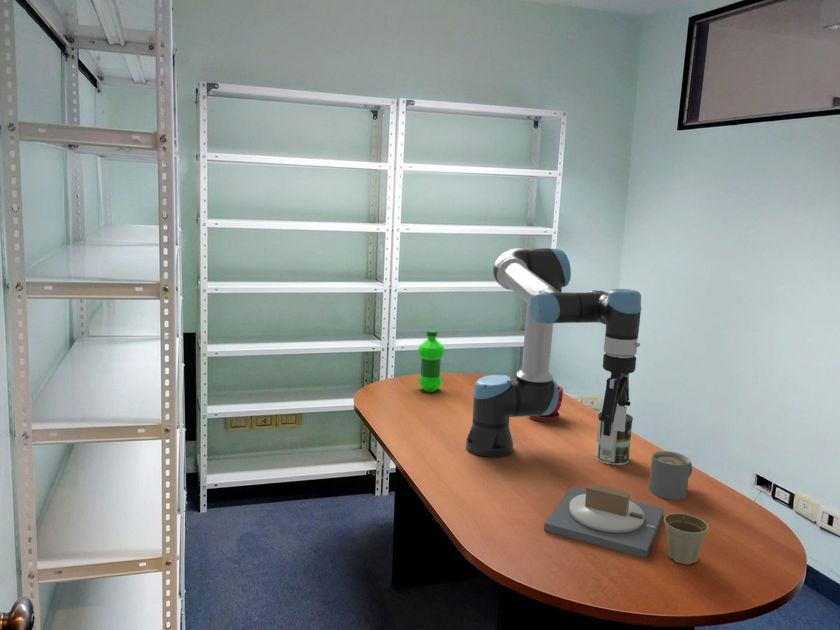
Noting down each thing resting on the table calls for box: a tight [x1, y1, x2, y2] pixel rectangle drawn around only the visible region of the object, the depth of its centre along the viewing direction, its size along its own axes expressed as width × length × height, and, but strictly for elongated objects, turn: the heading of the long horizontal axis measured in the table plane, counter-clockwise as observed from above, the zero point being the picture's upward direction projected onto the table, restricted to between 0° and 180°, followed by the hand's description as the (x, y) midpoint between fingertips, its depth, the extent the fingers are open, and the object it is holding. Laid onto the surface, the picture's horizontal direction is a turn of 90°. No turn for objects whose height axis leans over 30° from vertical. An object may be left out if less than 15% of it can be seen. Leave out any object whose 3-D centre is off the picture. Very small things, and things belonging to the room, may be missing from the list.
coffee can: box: [594, 411, 634, 466], centre depth 204 cm, size 10×10×14 cm
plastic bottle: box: [417, 329, 445, 393], centre depth 270 cm, size 10×10×25 cm
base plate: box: [543, 486, 665, 560], centre depth 164 cm, size 24×24×2 cm
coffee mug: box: [648, 450, 693, 500], centre depth 183 cm, size 13×10×10 cm
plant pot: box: [529, 385, 564, 423], centre depth 241 cm, size 13×13×12 cm
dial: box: [569, 483, 644, 533], centre depth 163 cm, size 18×18×6 cm
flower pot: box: [663, 512, 709, 565], centre depth 149 cm, size 9×9×9 cm
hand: (612, 438), depth 160 cm, fingers open, 13 cm apart
